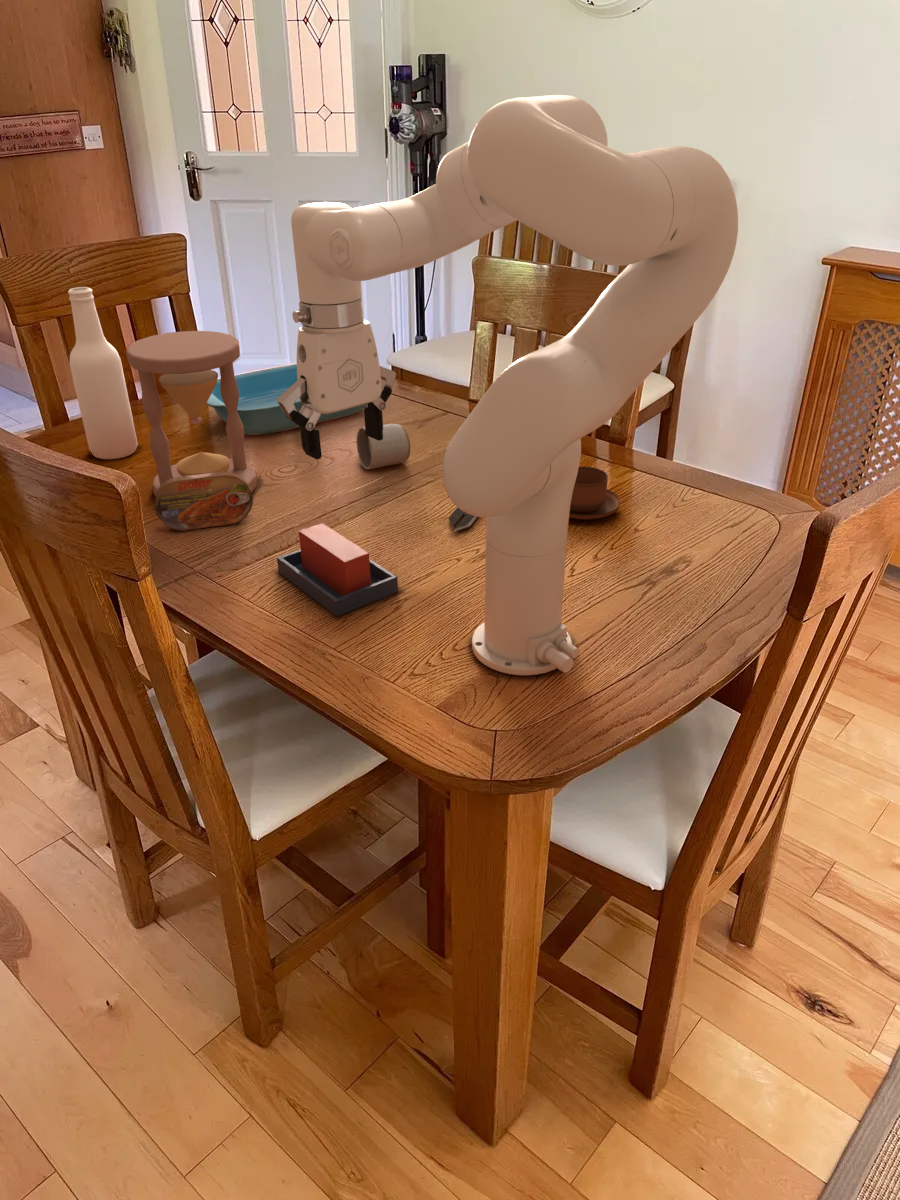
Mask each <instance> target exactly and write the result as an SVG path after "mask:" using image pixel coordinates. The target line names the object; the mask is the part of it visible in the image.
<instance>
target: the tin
mask: <svg viewBox="0 0 900 1200" xmlns="http://www.w3.org/2000/svg"><path fill="white" fill-rule="evenodd" d="M253 504H254V497H253V491H252V492H251V490H250V487H249V485H248V484H247V482H246V481H245V480H244V479H243V478H242V477H241V476H239V475H237V474H235V473H232V472H227V471H223V472H214V473H207V474H199V475H190V476H182V477H175V478H172V479H169V480H167V481H166V482H164V483H163V484H162V485H161V487H160V488H159V489H158V492H157V494H156V496H155V498H154V505H153V506H154V512H155V514H156V516H157V518H158V520H159V521H160V522H161V523H162V524H163V525H165V526H166V527H168V528H169V529H170V528H171V529H172V530H175V531H182V532H184V531H191V530H192V531H193V530H198V529H205V528H213V527H221V526H229V525H234V524H237V523H239V522H241V521H243V520H244V519H246V517H248V516H249V513H250V512H251V510H252V507H253Z"/></svg>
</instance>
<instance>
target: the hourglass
mask: <svg viewBox="0 0 900 1200" xmlns="http://www.w3.org/2000/svg"><path fill="white" fill-rule="evenodd" d="M240 349H241V347H240V342H239V339H238V338H236V337H235V336H233V335H232V334H228V333H224V332H220V331H210V330H183V331H174V332H164V333H159V334H155V335H149V336H147V337H144V338H140V339H138V340H135V341H134V342H132V343H131V344H129V345H128V346H127V349H126V352H125V354H126V359H127V363H128V365H130V366H131V367H132V368H133V369H134V370H136V371H137V373H138V378H139V383H140V389H141V404H142V411H143V413H144V415H145V417H146V419H147V421H148V423H149V425H150V427H151V428H150V439H149V444H150V445H149V447H150V451H151V454H152V456H153V459H154V461H155V466H156V472H157V475H156V476H155V477H154V478H153V481H152V491H153V495H154V497H156V494H157V492H158V489H159V488H160V487H161V485H162V484H163V483H164V482H166V481H167V480H169V479H172V478H175V477H182V476H190V475H199V474H207V473H214V472H223V471H227V472H232V473H235V474H237V475H239V476H241V477H242V478H243V479H244V480H245V481H246V482H247V484H248V485H249V487H250V490H251V492H252V493H253V491H254V490H255V489H256V487H257V486H258V480H257V471H256V469H255V468H254V467H253V466H252V465H251V464H250V463H248V462H247V459H246V450H245V434H244V428H243V424H242V422H241V419H240V417H239V415H238V412H237V407H238V400H239V391H238V386H237V382H236V379H235V376H236V375H235V369H234V362H235V361H236V360H238V359H239V358H240V356H241V350H240ZM215 369H219V373H218V372H217V371H215ZM155 374H159V375H161V376H159V379H158V382H159V383H160V385H161V387H162V388H163V389H164V390H165V392H166V393H167V394H168V395H169V396H170V397H171V398H172V399H173V400H174V401H175V402H176V403H177V404H178V406H180V407H181V408H182V409H183V410H184V411H185V412H186V414H187V415H188V416H189V417H190V423H191V425H199V424H201V423H202V417H201V415H202V412H203V410H204V408H205V407H206V405H207V404H206V403H207V401H208V399H209V398H210V396H211V394H212V392H213V390H214V388H215V386H216V384H217V380H219V379H218V378H219V375H220V379H221V380H220V390H221V397H222V399H223V402H224V404H225V406H226V409H227V411H228V416H227V423H225V432H226V436H227V440H228V443H229V446H230V453H231V458H228V457H227V456H226V455H223V454H219V453H212V452H204V451H199V452H197V453H194V454H191V455H188V456H186V457H184V458H181V459H180V460H179V461H178V462H177V463H175V464H173V465H171V450H170V442H169V440H168V437H167V435H166V433H165V431H164V429H163V427H162V417H163V405H162V399H161V397H160V394H159V391H158V388H157V383H156V378H155Z"/></svg>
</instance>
